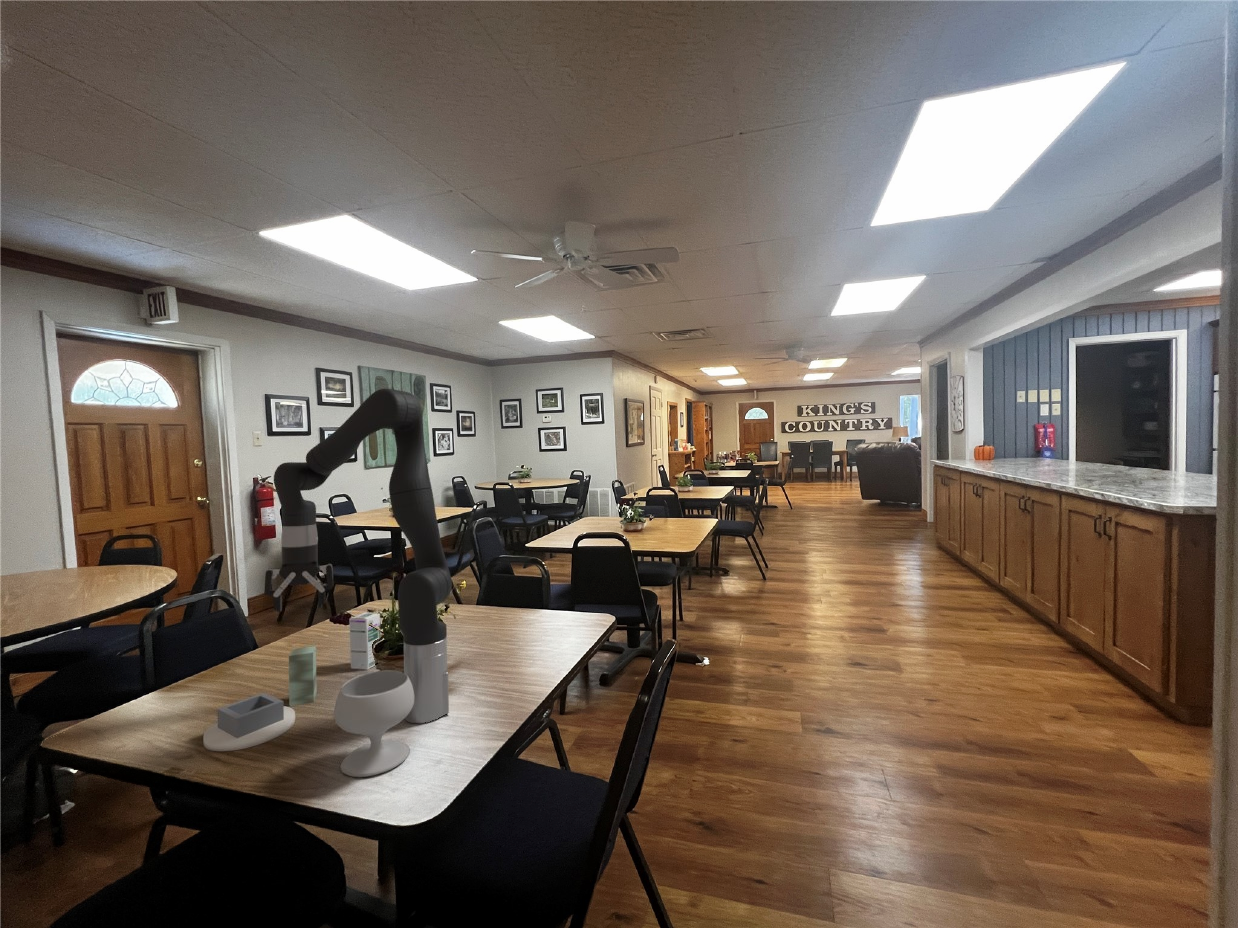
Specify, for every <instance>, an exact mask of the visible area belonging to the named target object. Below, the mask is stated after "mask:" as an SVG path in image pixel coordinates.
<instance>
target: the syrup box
mask: <svg viewBox="0 0 1238 928" xmlns="http://www.w3.org/2000/svg"><path fill="white" fill-rule="evenodd" d="M370 623H372V624H373V625H374V626H376V627H380V628H381V614H380V613H379V612H370V611H369V612H362V613H360V614H358V615H355V616H353V617H350V618H349V649H350V654H349V655H350V668H351V670H352V669H353V670H363V671H364V670H367V671H368V670H370V669H371V668H373V667H375V666H376V665H375V660H374V658H373V653H372V644H373V642H374V641H375V640H377V639H379V638H381V629H380V630H376V629H375V628H373V627H371V626H369V624H370Z"/></svg>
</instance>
